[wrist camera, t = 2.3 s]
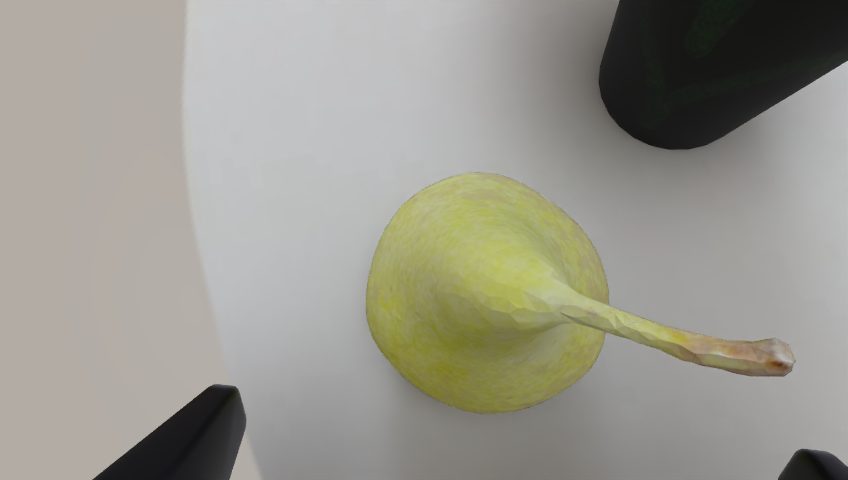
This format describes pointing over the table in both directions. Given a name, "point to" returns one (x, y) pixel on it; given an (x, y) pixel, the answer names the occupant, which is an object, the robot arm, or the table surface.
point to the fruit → (511, 300)
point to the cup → (713, 63)
